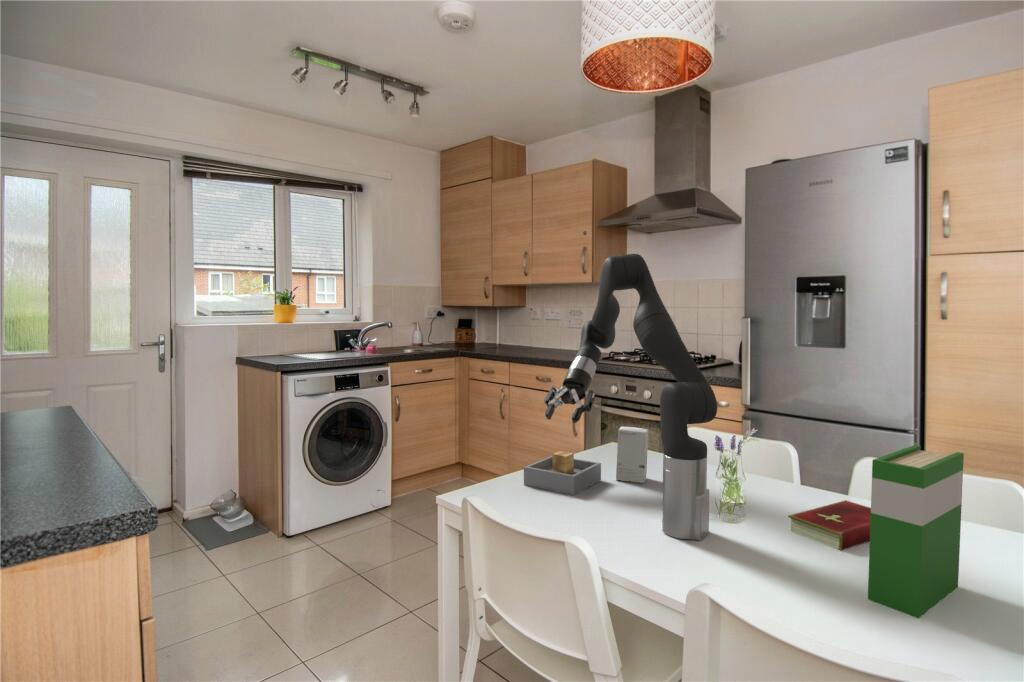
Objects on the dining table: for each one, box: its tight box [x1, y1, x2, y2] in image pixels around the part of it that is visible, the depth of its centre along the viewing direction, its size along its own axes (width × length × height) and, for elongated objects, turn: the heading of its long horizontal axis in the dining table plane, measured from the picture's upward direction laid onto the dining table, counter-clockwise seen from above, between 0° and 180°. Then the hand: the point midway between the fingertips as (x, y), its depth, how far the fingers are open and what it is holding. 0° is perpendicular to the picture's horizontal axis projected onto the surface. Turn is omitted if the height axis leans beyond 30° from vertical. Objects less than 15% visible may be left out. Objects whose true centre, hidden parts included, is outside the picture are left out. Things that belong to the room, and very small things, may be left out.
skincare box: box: [615, 425, 650, 484], centre depth 164 cm, size 8×6×15 cm
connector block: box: [551, 450, 575, 475], centre depth 162 cm, size 4×4×8 cm
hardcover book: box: [788, 499, 871, 551], centre depth 126 cm, size 12×21×4 cm, turn 118°
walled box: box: [523, 455, 602, 496], centre depth 162 cm, size 16×16×5 cm
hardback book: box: [867, 444, 965, 619], centre depth 98 cm, size 18×7×24 cm, turn 126°
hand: (560, 419), depth 160 cm, fingers open, 8 cm apart
